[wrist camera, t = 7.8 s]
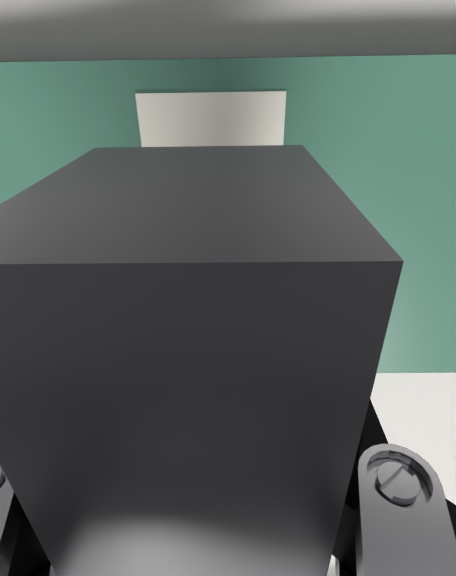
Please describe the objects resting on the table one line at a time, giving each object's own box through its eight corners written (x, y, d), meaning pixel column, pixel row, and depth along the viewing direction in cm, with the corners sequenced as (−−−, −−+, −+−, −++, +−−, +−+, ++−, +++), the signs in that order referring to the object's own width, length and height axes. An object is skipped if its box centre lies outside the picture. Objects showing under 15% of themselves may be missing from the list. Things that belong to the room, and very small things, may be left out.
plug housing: (302, 144, 8) (403, 261, 3) (273, 509, 15) (291, 717, 10) (95, 147, 8) (-103, 265, 3) (161, 509, 15) (128, 714, 10)
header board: (571, 53, 14) (727, 47, 9) (457, 353, 21) (516, 428, 16) (-32, 63, 14) (-148, 62, 10) (59, 354, 21) (15, 429, 17)
